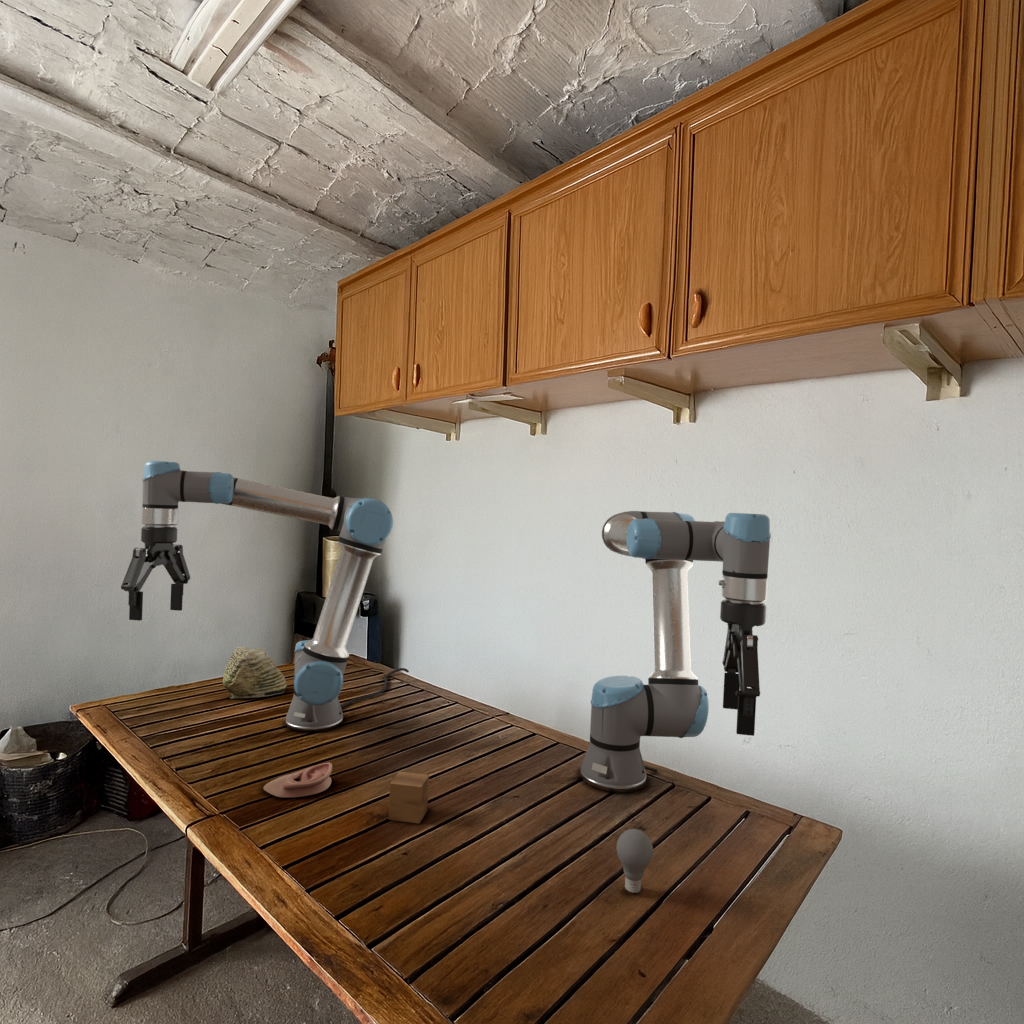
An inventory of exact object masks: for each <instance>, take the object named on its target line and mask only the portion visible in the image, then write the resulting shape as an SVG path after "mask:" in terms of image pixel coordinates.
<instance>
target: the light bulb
mask: <svg viewBox="0 0 1024 1024" xmlns="http://www.w3.org/2000/svg"><path fill="white" fill-rule="evenodd" d="M615 849H616V854H617V857H618V859H619V861H620V863H621V865H622V867H623V873H624V874H623V875H624V876H625V878H624V888H625V890H627V891H628V892H630V893H634V894H635V893H639V892H640V891H641V889H642V887H641V886H642V879H643V877H644V875H645V871H646V868H647V867H648V866H649V864H650V863H651V861H652V859H653V855H654V847H653V843H652V841H651V838H649V836H648V835H647V834H646V833H645V832H643V831H642V830H641V829H636V828H629V829H627V830H625V831H623V832H622V833H621V834H620V835H619V837H618V839H617V841H616V847H615Z"/></svg>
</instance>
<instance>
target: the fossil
mask: <svg viewBox="0 0 1024 1024" xmlns="http://www.w3.org/2000/svg"><path fill="white" fill-rule="evenodd" d="M222 676H223V677H222V685H223V687H224V688H225V690H226V691H228V693H229V698H230V699H250V698H264V697H271V696H275V695H281V694H284V693H285V691H286V689H287V687H288V686H287V680H286V678H285V676H284V674H283V673H282V672H281V669H279V668H278V667H277V665H276V663H275V662H274V660H273V659H272V658H271V657H270V656H269V655H268V654H267V653H266V652H265V650H264V649H263V648H260V647H258V648H251V647H247V646H246V647H245V646H238V647H237V648H236V649H235V650H233V651H232V653H231V656H230V657H229V659H228V660H227V663H226V666H225V668H224V671H223V675H222Z"/></svg>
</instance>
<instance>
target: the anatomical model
mask: <svg viewBox="0 0 1024 1024" xmlns="http://www.w3.org/2000/svg"><path fill="white" fill-rule="evenodd" d="M332 771H333V763H332V762H323V763H319V764H316V765H312V766H309V767H307V768H303V769H301V770H298V771H294V772H293V773H290V774H289V773H288V774H284V775H281V776H279V777H277V778H275V779H272V780H271V781H269V782H267V783H266V784H265V785H264V786H263V788H262V789H263V791H264V792H266V793H268V794H270V795H272V796H274V797H277V798H283V799H284V798H285V799H287V798H300V797H307V796H312V795H316V794H319V793H321V792H324V791H326V790H328V789H329V787H330V786H331V784H332V778H331V774H332Z"/></svg>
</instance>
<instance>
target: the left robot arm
mask: <svg viewBox="0 0 1024 1024" xmlns="http://www.w3.org/2000/svg"><path fill="white" fill-rule="evenodd" d="M142 477H143V478H141V479H142V504H141V505H142V506H141V507H142V509H141V510H142V514H141V524H142V525H144V526H142V527H141V530H140V531H141V533H140V541H141V543H143V544H144V547H134V548H133V550H132V555H131V560H130V563H129V565H128V567H127V570H126V573H125V575H124V578H123V580H122V583H121V586H120V589H121V590H122V591H123V590H124V592H128V607H129V609H128V620H129V621H138V622H139V621H142V620H143V607H144V606H143V605H144V604H143V603H144V601H143V600H144V591H141V589H143V587H144V585H145V583H146V581H147V580H148V578H149V576H150V574H151V573H152V572H153V569H155V568H156V567H160V566H163V567H164V568H165V570H166V572H167V574H168V575H169V577H170V579H171V580H172V581H173V583H171V584H170V603H169V604H170V607H169V611H179V612H180V611H183V599H184V598H183V597H184V589H185V588H184V587H185V585H188V583H189V581H190V580H191V575H190V571H189V568H188V565H187V562H186V558H185V556H184V546H183V545H182V544H175V543H177V541H178V528H177V526H178V524H179V502H180V503H198V504H199V503H200V504H201V503H202V504H215V505H218V504H220V505H225V506H231V507H235V508H241V509H247V510H252V511H256V512H260V513H261V512H262V513H266V514H271V515H275V516H282V517H287V518H291V519H295V520H301V521H305V522H310V523H311V522H312V523H316V524H321V525H325V526H328V527H329V528H330V530H332V531H337V532H340V533H339V536H338V539H337V544H338V546H339V548H340V554H339V555H338V559H337V561H336V565H335V568H334V570H333V571H334V572H333V575H332V577H331V578H332V579H331V581H330V584H329V587H328V590H327V594H326V596H325V600H324V603H323V606H322V609H321V612H320V615H319V617H318V618H319V619H318V621H317V625H316V627H315V631H314V633H313V637H312V639H306V640H305V639H304V640H300V641H298V642H297V643H295V648H294V649H295V650H293V651H294V672H293V673H294V674H293V675H294V676H293V695H292V696H293V697H292V699H291V702H290V704H289V708H288V711H287V713H286V715H285V726H286V728H287V729H289V730H291V731H294V732H295V731H296V732H301V733H316V732H325V731H329V730H332V729H335V728H337V727H339V726H340V725H342V723H343V722H344V714H343V709H342V708H345V707H346V706H348V705H350V704H352V703H354V702H357V701H358V702H359V701H362V700H365V699H366V700H367V699H370V698H373V697H376V696H378V695H380V694H383V693H384V692H385V691H386V689H387V688H388V677H389V676H391V675H393V674H395V673H397V672H400V671H404V672H406V673H409V672H410V671H409V669H407V668H405V667H399V668H396V669H393V670H392V671H389V672H387V673H386V674H385V675H384V678H383V679H384V686H383V688H381V689H380V690H378V691H377V692H374V693H371V694H367V695H363V696H359V697H355V698H353V699H352V698H351V699H350V700H348V701H346V702H344V703H342V704H341V702H340V699H339V694H340V693H341V691H342V688H343V686H344V673H345V670H346V667H347V663H348V661H349V658H350V652H349V651H348V650H347V644H348V641H349V638H350V635H351V631H352V628H353V625H354V622H355V619H356V616H357V613H358V609H359V607H360V603H361V600H362V597H363V594H364V591H365V587H366V584H367V581H368V578H369V574H370V573H371V572H370V571H371V568H372V565H373V561H374V560H375V559H376V558H378V557H380V556H381V555H382V553H383V550H384V546H385V543H386V540H387V538H388V537H389V536H390V534H391V533H392V530H393V527H394V518H393V514H392V512H391V509H390V508H389V507H388V505H386V503H384V502H383V501H381V500H380V499H378V498H373V497H347V496H342V495H336V497H330V496H324V495H320V494H316V493H310V492H306V491H302V490H301V491H300V490H295V489H291V488H286V487H283V486H282V487H281V486H277V485H273V484H267V483H263V482H257V481H254V480H249V479H243V478H240V477H239V478H238V477H233V475H232V473H227V472H222V471H189V470H188V471H187V470H183V469H181V465H180V463H179V462H176V461H166V460H165V461H164V460H149V461H146V462H145V463H144V467H143V476H142ZM184 584H185V585H184ZM395 671H396V672H395Z"/></svg>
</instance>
